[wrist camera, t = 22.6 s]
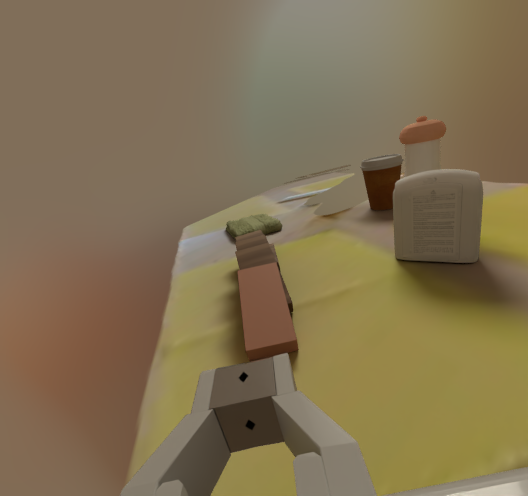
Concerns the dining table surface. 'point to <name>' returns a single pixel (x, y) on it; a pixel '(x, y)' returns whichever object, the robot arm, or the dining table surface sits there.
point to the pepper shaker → (422, 145)
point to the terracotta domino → (265, 313)
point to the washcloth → (253, 225)
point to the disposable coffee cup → (381, 179)
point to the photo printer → (438, 216)
